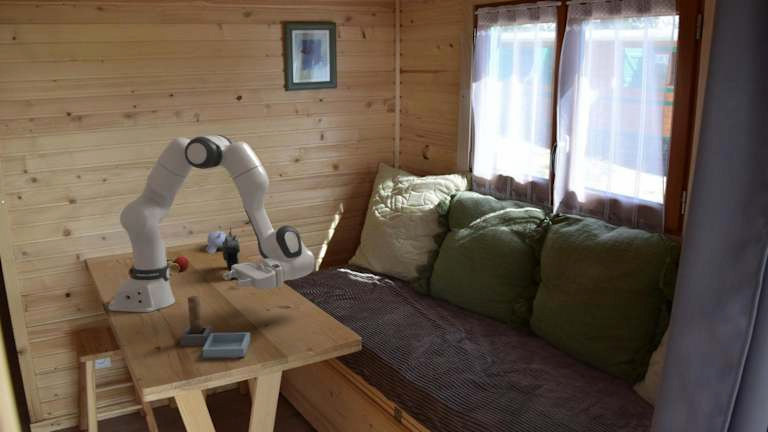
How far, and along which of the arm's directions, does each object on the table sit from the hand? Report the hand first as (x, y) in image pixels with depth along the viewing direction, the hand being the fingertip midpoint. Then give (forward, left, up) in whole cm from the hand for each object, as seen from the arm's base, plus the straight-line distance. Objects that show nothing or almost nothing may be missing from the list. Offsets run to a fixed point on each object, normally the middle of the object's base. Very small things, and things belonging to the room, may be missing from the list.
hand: (230, 280), depth 225 cm
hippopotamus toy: (-24, +96, -17) cm, 100 cm away
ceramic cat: (-11, +59, -17) cm, 63 cm away
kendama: (-38, +62, -17) cm, 75 cm away
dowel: (-10, -7, -17) cm, 21 cm away
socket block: (-10, -7, -17) cm, 21 cm away
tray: (+1, -15, -17) cm, 23 cm away
